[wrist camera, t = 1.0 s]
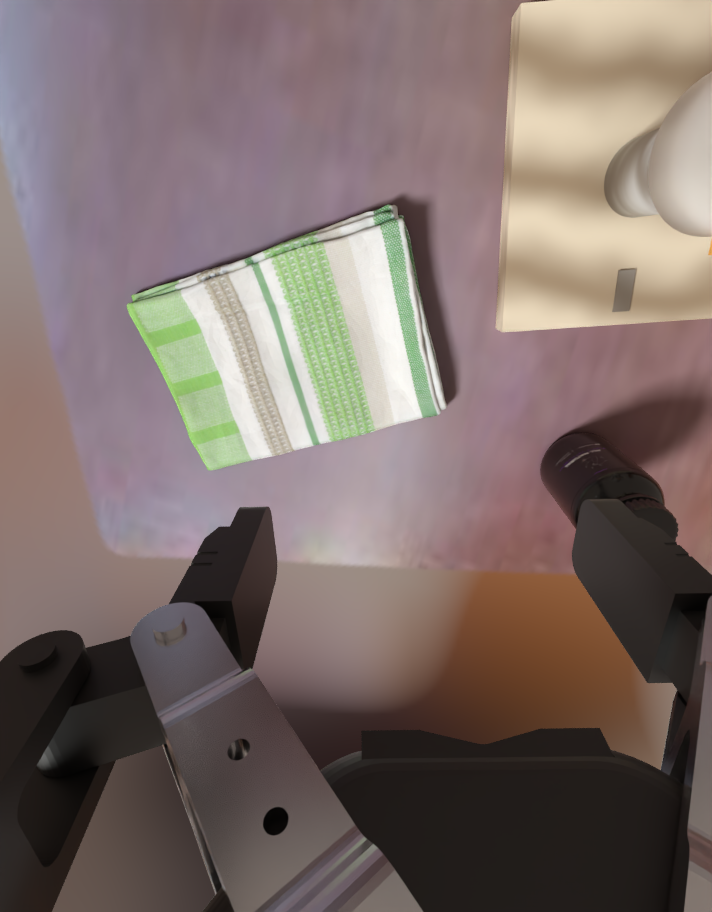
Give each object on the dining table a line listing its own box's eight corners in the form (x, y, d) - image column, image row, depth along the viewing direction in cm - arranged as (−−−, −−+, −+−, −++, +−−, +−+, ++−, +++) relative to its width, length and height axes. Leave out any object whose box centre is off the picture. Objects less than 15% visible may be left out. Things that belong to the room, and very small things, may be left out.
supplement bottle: (563, 419, 42) (634, 478, 31) (626, 446, 43) (718, 513, 32) (523, 481, 44) (576, 557, 33) (584, 505, 45) (655, 587, 34)
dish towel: (447, 408, 42) (454, 420, 39) (214, 471, 45) (202, 487, 42) (400, 202, 35) (404, 197, 32) (131, 291, 38) (110, 295, 35)
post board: (511, 18, 30) (575, -83, 21) (794, -9, 30) (986, -126, 21) (495, 328, 38) (536, 351, 29) (717, 313, 38) (831, 332, 29)
